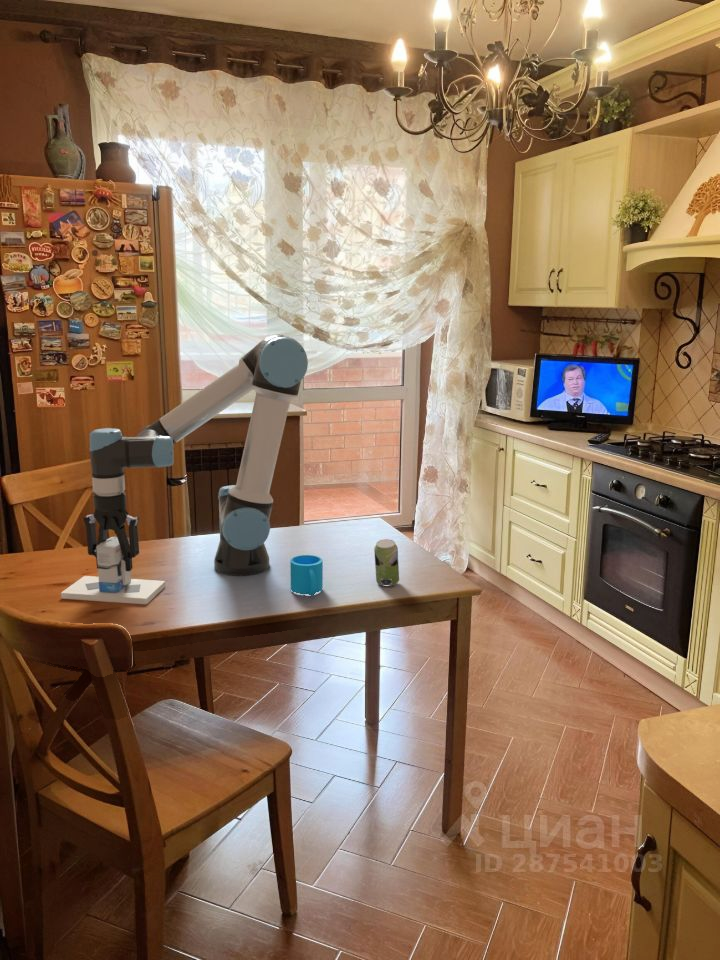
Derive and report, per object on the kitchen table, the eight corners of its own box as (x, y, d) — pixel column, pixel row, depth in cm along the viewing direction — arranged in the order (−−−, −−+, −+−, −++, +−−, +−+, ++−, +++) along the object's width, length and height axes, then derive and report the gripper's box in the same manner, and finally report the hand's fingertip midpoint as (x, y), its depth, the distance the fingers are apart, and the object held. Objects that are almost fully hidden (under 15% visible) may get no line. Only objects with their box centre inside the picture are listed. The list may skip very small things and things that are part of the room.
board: (165, 586, 195) (165, 580, 195) (146, 604, 184) (146, 598, 183) (84, 581, 198) (84, 575, 198) (61, 598, 186) (60, 592, 186)
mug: (287, 586, 197) (287, 556, 195) (318, 583, 199) (318, 553, 197) (297, 603, 186) (297, 572, 184) (330, 600, 188) (330, 569, 186)
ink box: (117, 593, 186) (114, 547, 183) (98, 591, 187) (95, 546, 184) (132, 581, 194) (130, 537, 192) (114, 579, 195) (111, 535, 192)
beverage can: (401, 581, 201) (403, 538, 198) (393, 591, 194) (395, 546, 192) (379, 578, 203) (380, 535, 200) (370, 588, 196) (371, 543, 194)
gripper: (150, 490, 187) (155, 578, 193) (82, 487, 190) (89, 574, 195) (138, 497, 180) (143, 589, 186) (66, 494, 183) (74, 585, 188)
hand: (115, 582), depth 190 cm, fingers closed on ink box, 5 cm apart
